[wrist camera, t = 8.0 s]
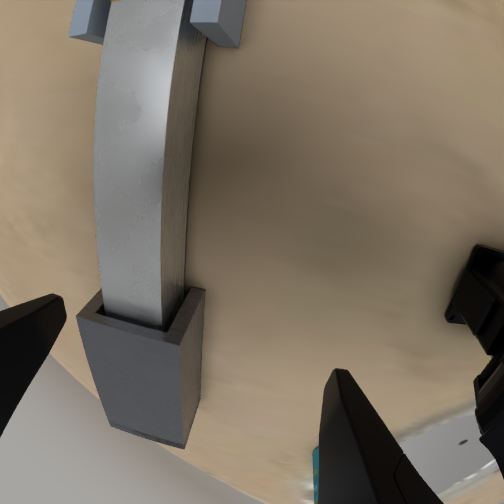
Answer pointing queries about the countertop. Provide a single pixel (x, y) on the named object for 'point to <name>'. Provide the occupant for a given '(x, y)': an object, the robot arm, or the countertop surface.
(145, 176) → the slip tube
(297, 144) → the countertop surface
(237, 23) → the blue-grey u-shaped block
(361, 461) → the robot arm
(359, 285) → the countertop surface
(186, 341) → the sleeve
